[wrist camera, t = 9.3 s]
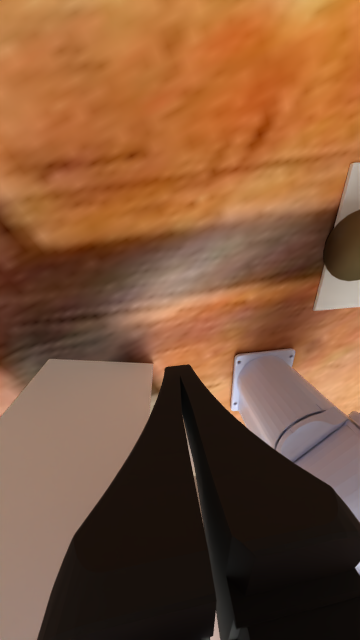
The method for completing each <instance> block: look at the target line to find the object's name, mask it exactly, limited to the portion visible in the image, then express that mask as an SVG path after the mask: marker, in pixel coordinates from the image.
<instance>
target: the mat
mask: <svg viewBox="0 0 360 640" xmlns="http://www.w3.org/2000/svg"><path fill="white" fill-rule="evenodd" d="M357 210H360V163H352V164H350V167H349V171H348V175H347V179H346V183H345V187H344V191H343V194H342V198H341V202H340V206H339V210H338V214H337V218H336V222H335V226H336V225H337V224H338V223H339V222H340V221H341V220H342V219H344V218H345V217H346V216H347V215H349V214H351V213H353V212H355V211H357ZM335 226H334V228H335ZM352 307H360V280H356V281H344V280H339V279H337V278H336V277H334V276H332V275H331V274H330V272H329V271H328V270H327V268H326V266H325V265H324V268H323V272H322V276H321V280H320V284H319V288H318V292H317V296H316V300H315V304H314V307H313V310H314V311H319V310H330V309H341V308H352Z"/></svg>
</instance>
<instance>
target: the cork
mask: <svg viewBox="0 0 360 640" xmlns="http://www.w3.org/2000/svg"><path fill="white" fill-rule="evenodd" d="M324 263H325V266H326V268H327V270H328V271H329V272H330V274H331V275H332V276H334V277H336V278H337V279H339V280H344V281H356V280H360V210H357V211H355V212H353V213H351V214H349V215H347V216H346V217H345V218H344V219H342V220H341V221H340V222H339V223H338V224H337V225H336V226H335V228H334V229H333V230H332V231H331V233H330V235H329V237H328V239H327V241H326V243H325V248H324Z"/></svg>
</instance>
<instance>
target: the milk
mask: <svg viewBox="0 0 360 640" xmlns="http://www.w3.org/2000/svg"><path fill="white" fill-rule="evenodd" d="M152 374H153V364H151V363H130V362H108V361H86V360H64V359H49V360H48V361H47V362H46V363H45V364H44V366H43V367H42V368H41V369H40V370H39V372H38V373H37V374H36V375H35V376H34V378H33V379H32V380H31V381H30V382H29V384H28V385H27V386H26V387H25V388H24V390H23V391H22V392H21V393H20V394H19V396H18V397H17V398H16V399H15V400H14V401H13V403H12V404H11V405H10V406H9V407H8V409H7V410H6V411H5V412H4V413H3V415H2V416H1V417H0V640H37V638H38V634H39V631H40V628H41V624H42V621H43V618H44V614H45V611H46V607H47V604H48V601H49V597H50V594H51V591H52V588H53V585H54V582H55V580H56V577H57V575H58V572H59V569H60V567H61V564H62V562H63V559H64V557H65V554H66V552H67V549H68V547H69V545H70V542H71V540H72V538H73V536H74V534H75V533H76V531H77V530H78V529H79V527H80V526H81V525H82V523H83V522H84V520H85V519H86V518H87V516H88V515H89V514H90V512H91V511H92V509H93V508H94V507H95V505H96V504H97V503H98V501H99V500H100V498H101V497H102V496H103V494H104V493H105V491H106V490H107V488H108V487H109V486H110V484H111V482H112V481H113V479H114V478H115V476H116V475H117V473H118V472H119V470H120V469H121V467H122V466H123V464H124V462H125V461H126V459H127V458H128V456H129V454H130V453H131V451H132V449H133V447H134V446H135V444H136V442H137V440H138V439H139V437H140V435H141V433H142V431H143V429H144V427H145V425H146V423H147V421H148V419H149V413H150V400H151V387H152Z"/></svg>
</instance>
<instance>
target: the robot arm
mask: <svg viewBox="0 0 360 640" xmlns="http://www.w3.org/2000/svg"><path fill="white" fill-rule="evenodd" d="M294 356H295V350H294V349H292V348H290V349H281V350H272V351H263V352H254V353H245V354H238V355H236V356H235V361H234V373H233V384H232V396H231V410H232V411H239V413H240V415H241V417H242V419H243V421H244V423H245V425H246V427H247V428H246V427H245V426H244V425H243V424H242V423H241V422H239V421H238V420H237V419H236V418H235V417H234V416H233V415H232V414H231V413H230V412H229V411H228V410H226V409H225V408H224V407H223V406H222V404H221V403H220V402H219V401H218V400H217V399H216V398H215V397H214V396H213V395H212V394H211V393H210V391H209V390H208V389H207V388H206V387H205V385H204V384H203V383H202V382H201V380H200V379H199V378H198V376H197V375H196V374H195V372H194V371H193V369H192V367H191V366H190V365H189V364H188V365H180V366H171V367H166V368H165V373H164V378H163V382H162V386H161V389H160V392H159V395H158V398H157V400H156V403H155V405H154V408H153V410H152V412H151V415H150V417H149V419H148V421H147V423H146V425H145V427H144V429H143V431H142V433H141V435H140V437H139V439H138V440H137V442H136V444H135V446H134V447H133V449H132V451H131V453H130V454H129V456H128V458H127V459H126V461H125V462H124V464H123V466H122V467H121V469H120V470H119V472H118V473H117V475H116V476H115V478H114V479H113V481H112V482H111V484H110V486H109V487H108V488H107V490H106V491H105V493H104V494H103V496H102V497H101V498H100V500H99V501H98V503H97V504H96V505H95V507H94V508H93V509H92V511H91V512H90V514H89V515H88V516H87V518H86V519H85V520H84V522H83V523H82V525H81V526H80V527H79V529H78V530H77V531H76V533H75V534H74V536H73V538H72V540H71V542H70V545H69V547H68V549H67V552H66V554H65V557H64V559H63V562H62V564H61V567H60V569H59V572H58V575H57V577H56V580H55V582H54V585H53V588H52V591H51V594H50V597H49V601H48V604H47V607H46V611H45V614H44V618H43V621H42V624H41V628H40V631H39V634H38V638H37V640H210V637H211V636H213V631H214V622H215V613H217V620H218V627H219V633H220V639H221V640H360V413H358V412H356V411H353V412H351V413H350V414H349V416H347V415H346V414H345V413H343V412H342V411H340V410H339V409H338V408H337V407H336V406H335V405H334V404H332V403H331V402H330V401H329V400H328V399H327V398H326V397H325V396H323V395H322V394H321V393H320V392H319V391H318V390H317V389H316V388H314V387H313V386H312V385H311V384H310V383H309V382H308V381H307V380H305V379H304V378H303V377H302V376H301V375H300V374H299V373H298V372H296V371H295V370H294V369H293V368H292V364H293V360H294ZM238 361H240V362H238ZM182 415H183V416H182ZM183 419H184V422H183ZM184 423H185V428H186V432H187V436H188V440H189V445H190V449H191V453H192V457H193V462H194V467H195V473H196V479H197V486H198V492H199V498H200V505H201V511H202V517H201V513H200V507H199V502H198V497H197V492H196V487H195V482H194V476H193V471H192V466H191V461H190V455H189V450H188V444H187V439H186V433H185V428H184ZM202 518H203V522H202ZM203 524H204V527H203ZM204 531H205V532H204Z"/></svg>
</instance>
